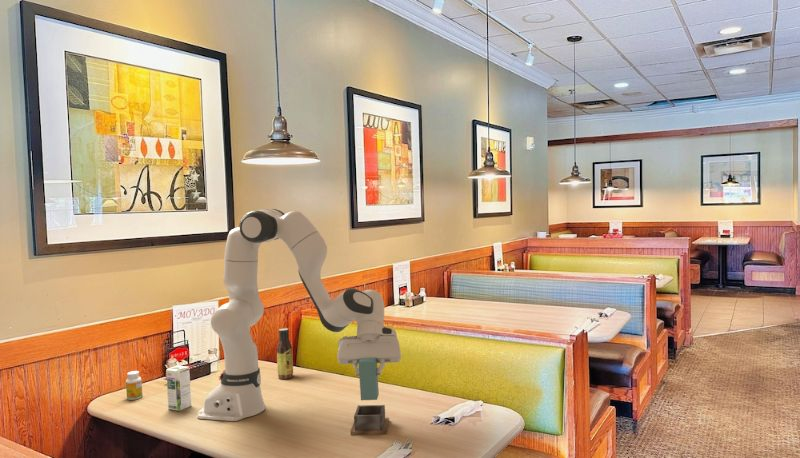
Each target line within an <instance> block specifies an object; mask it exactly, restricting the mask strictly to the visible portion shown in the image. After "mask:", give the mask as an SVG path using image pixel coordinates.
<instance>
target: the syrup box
mask: <svg viewBox="0 0 800 458" xmlns="http://www.w3.org/2000/svg"><path fill="white" fill-rule="evenodd" d="M165 371H166V387H167V389H166V391H167V407H168V410H172V411H178V412H181V411H183V410H185V409H187V408H189V407H191V406H192V396H191V394H192V391H191V376H190V366H183V365H175V366H171V367H168V368H167V369H166V370H165Z"/></svg>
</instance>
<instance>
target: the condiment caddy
mask: <svg viewBox="0 0 800 458" xmlns="http://www.w3.org/2000/svg"><path fill="white" fill-rule="evenodd" d="M385 408H386V405H385V404H371V405H370V404H368V405H367V404H366V405H363V404H362V405H357V407H356V410H355V413H354V415H353V423H352V427H351V429H350V435H351V436H353V435H354V436H356V435H357V436H358V435H361V436H362V435H363V436H365V435H388V429H389V424H390V417H386V409H385Z"/></svg>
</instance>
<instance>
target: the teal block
mask: <svg viewBox="0 0 800 458" xmlns="http://www.w3.org/2000/svg"><path fill="white" fill-rule="evenodd" d="M358 368H359V376H358V377H359V388H360V389H359V390H360V400H361V401H377V400H378V399H379V393H380V392H379V391H380V390H379V389H380V388H379V375H376V368H378V363H377V359H376V358H360V360H359V364H358Z"/></svg>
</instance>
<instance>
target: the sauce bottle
mask: <svg viewBox="0 0 800 458" xmlns="http://www.w3.org/2000/svg"><path fill="white" fill-rule="evenodd" d="M289 331H290V330H289V328H287V327H286V328H279V329H278V334H279V335H278V337H279V338H278V340H279V341H278V343H277V345H276V363H277V364H276V365H277V376H278V377H277V378H278V379H280V380H287V379H288V380H289V379H291V378H293V376H294V360H293V359H294V356H293V346H292V344H291V341H290V338H289Z"/></svg>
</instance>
